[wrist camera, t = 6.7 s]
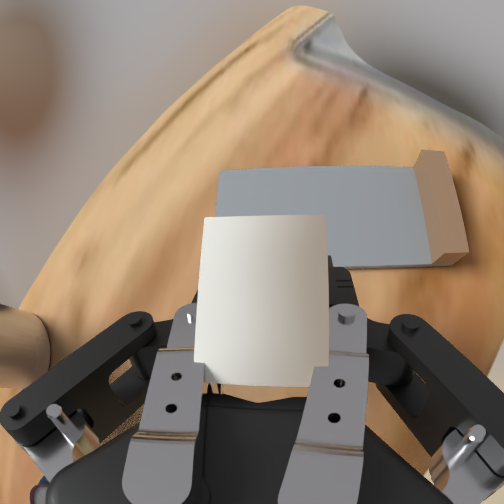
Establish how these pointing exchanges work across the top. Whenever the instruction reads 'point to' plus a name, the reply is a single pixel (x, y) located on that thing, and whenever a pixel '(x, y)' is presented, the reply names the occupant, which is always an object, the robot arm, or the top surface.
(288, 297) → the beige long rectangular block
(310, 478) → the robot arm
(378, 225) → the underlay board
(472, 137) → the top surface
